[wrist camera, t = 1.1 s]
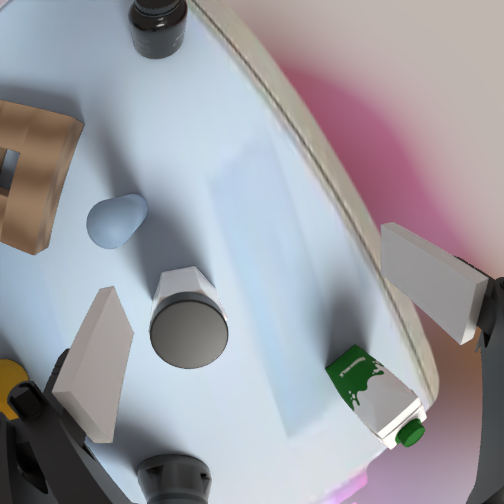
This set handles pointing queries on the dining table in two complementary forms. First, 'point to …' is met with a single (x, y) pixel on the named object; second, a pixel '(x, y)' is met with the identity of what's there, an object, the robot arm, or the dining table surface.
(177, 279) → the jar
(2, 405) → the apple
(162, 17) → the supplement bottle
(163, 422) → the dining table surface
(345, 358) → the milk carton
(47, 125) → the socket block
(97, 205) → the dowel
